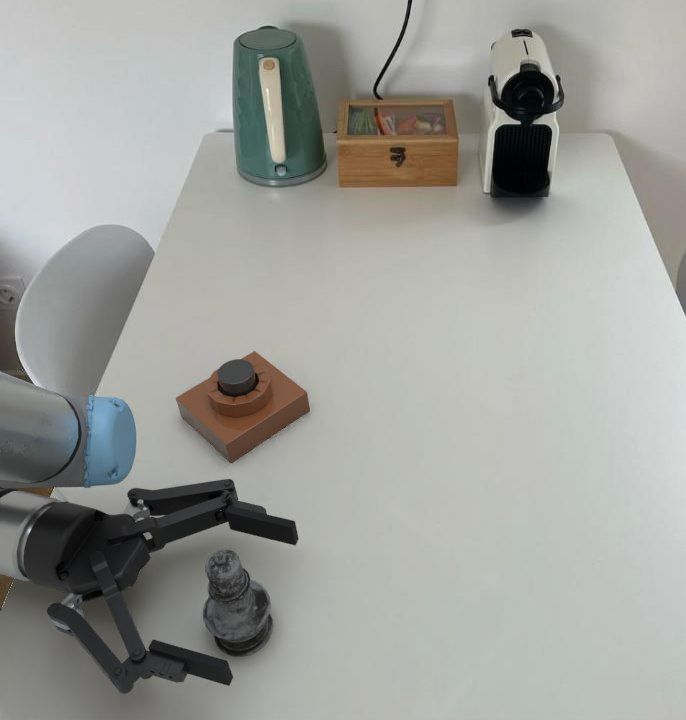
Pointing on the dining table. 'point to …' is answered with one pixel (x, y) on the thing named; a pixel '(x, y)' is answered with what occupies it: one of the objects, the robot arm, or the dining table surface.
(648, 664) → the dining table surface
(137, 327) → the dining table surface
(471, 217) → the dining table surface
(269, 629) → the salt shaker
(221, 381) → the button
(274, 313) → the dining table surface
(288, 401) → the brown square base plate
